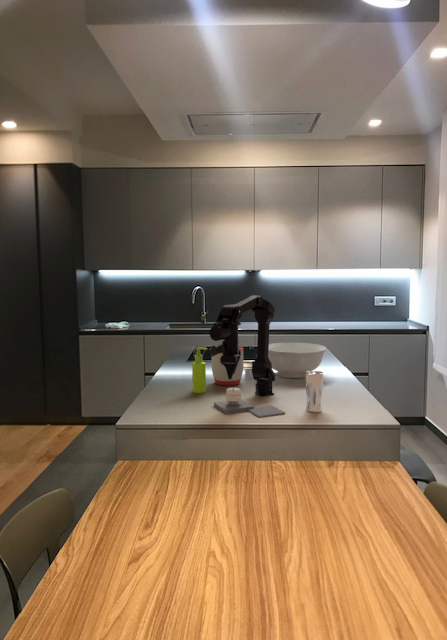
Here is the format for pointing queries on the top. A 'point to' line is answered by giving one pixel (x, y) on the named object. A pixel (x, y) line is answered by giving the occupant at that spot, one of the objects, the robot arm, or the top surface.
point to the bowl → (295, 358)
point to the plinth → (233, 406)
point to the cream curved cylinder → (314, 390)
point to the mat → (266, 411)
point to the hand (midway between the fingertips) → (231, 376)
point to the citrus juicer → (221, 372)
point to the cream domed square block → (233, 394)
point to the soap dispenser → (199, 372)
